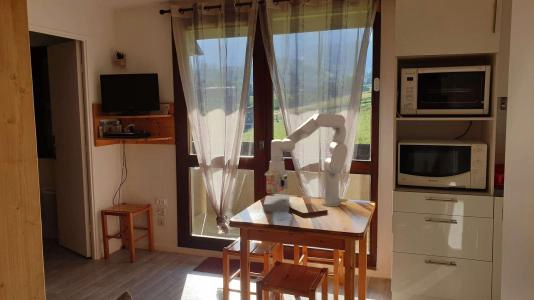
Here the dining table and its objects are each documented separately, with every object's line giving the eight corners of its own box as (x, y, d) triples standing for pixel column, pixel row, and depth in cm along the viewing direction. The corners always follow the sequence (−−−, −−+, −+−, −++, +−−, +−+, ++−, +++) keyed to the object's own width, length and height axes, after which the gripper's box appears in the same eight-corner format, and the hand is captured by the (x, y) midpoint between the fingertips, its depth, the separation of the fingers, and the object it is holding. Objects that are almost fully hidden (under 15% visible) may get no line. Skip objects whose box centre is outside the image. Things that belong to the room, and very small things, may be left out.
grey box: (289, 203, 293) (289, 195, 293) (289, 212, 267) (289, 204, 267) (266, 203, 294) (266, 195, 293) (263, 212, 268) (263, 204, 268)
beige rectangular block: (278, 187, 291) (278, 169, 290) (287, 188, 288) (287, 170, 287) (266, 193, 271) (266, 174, 270) (275, 194, 269) (275, 174, 268)
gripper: (290, 158, 280) (290, 185, 281) (264, 158, 283) (264, 184, 284) (289, 160, 272) (289, 187, 274) (262, 159, 275) (262, 186, 277)
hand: (276, 185), depth 279 cm, fingers closed on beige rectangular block, 7 cm apart
